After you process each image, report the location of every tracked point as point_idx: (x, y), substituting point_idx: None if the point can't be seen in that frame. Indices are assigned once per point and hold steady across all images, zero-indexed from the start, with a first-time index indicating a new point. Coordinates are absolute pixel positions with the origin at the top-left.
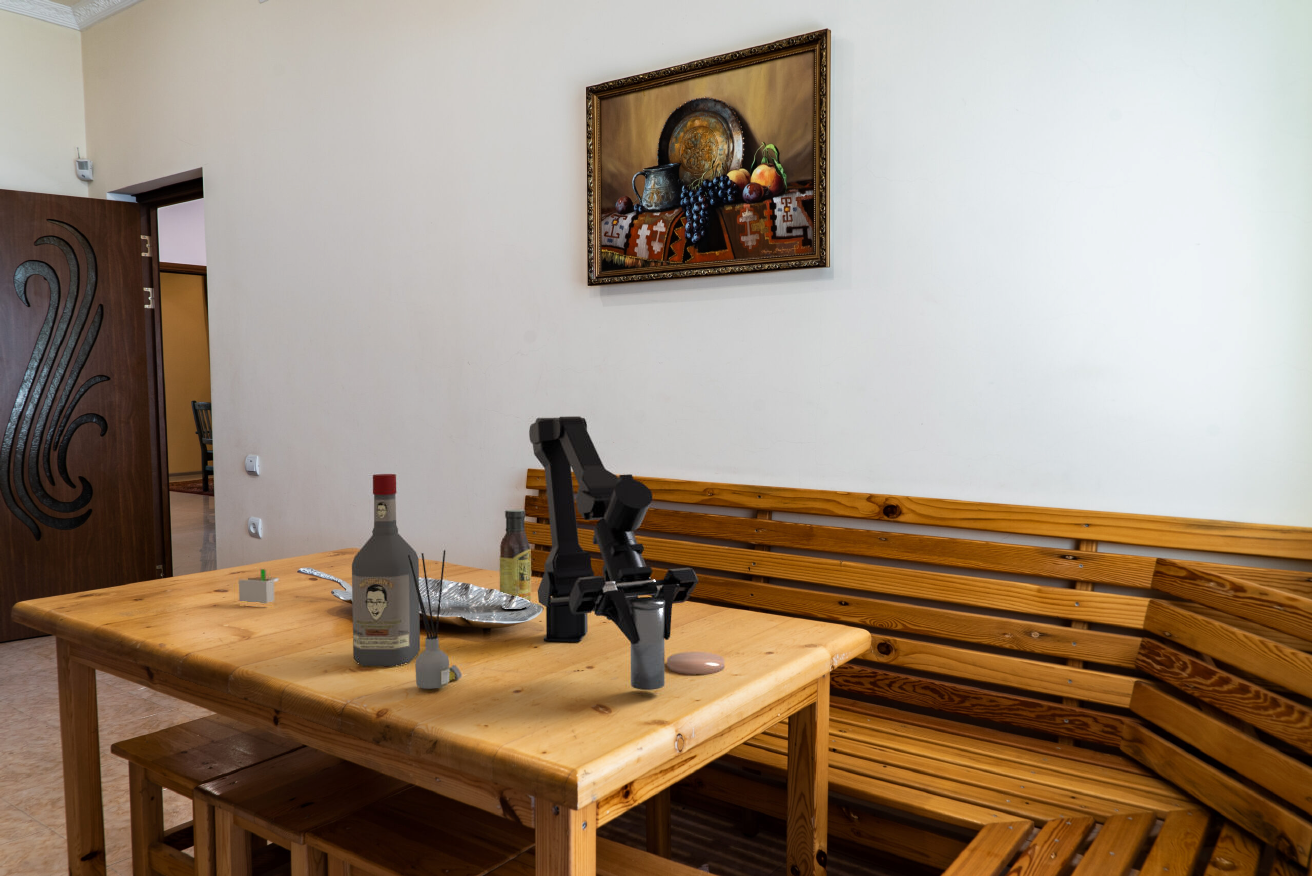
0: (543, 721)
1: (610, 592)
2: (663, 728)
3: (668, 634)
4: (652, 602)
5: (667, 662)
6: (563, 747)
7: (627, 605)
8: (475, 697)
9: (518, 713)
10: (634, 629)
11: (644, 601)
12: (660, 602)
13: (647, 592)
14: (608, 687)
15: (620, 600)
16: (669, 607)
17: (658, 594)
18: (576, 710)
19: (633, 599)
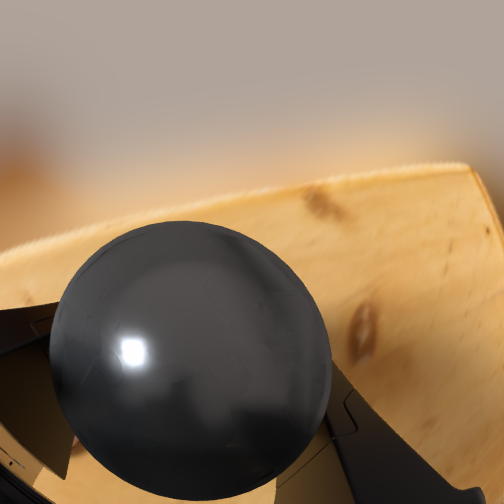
0: (460, 336)
1: (465, 498)
2: (330, 179)
3: None
4: (182, 294)
5: (76, 440)
6: (470, 226)
7: (335, 424)
8: (457, 487)
9: (465, 392)
10: None
11: (209, 369)
12: (137, 250)
13: (49, 499)
14: None
15: (389, 457)
16: (56, 309)
17: (14, 426)
18: (402, 354)
19: (233, 480)
